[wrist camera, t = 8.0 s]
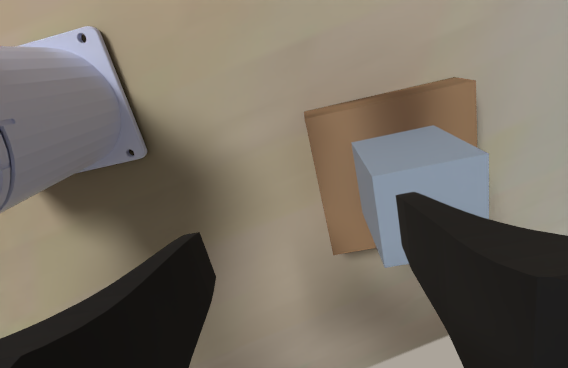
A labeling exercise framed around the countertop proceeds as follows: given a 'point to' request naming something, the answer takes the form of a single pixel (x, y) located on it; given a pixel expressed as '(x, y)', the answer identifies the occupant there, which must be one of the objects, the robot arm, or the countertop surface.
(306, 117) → the base
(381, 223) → the block
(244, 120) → the countertop surface
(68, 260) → the countertop surface
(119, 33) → the countertop surface
